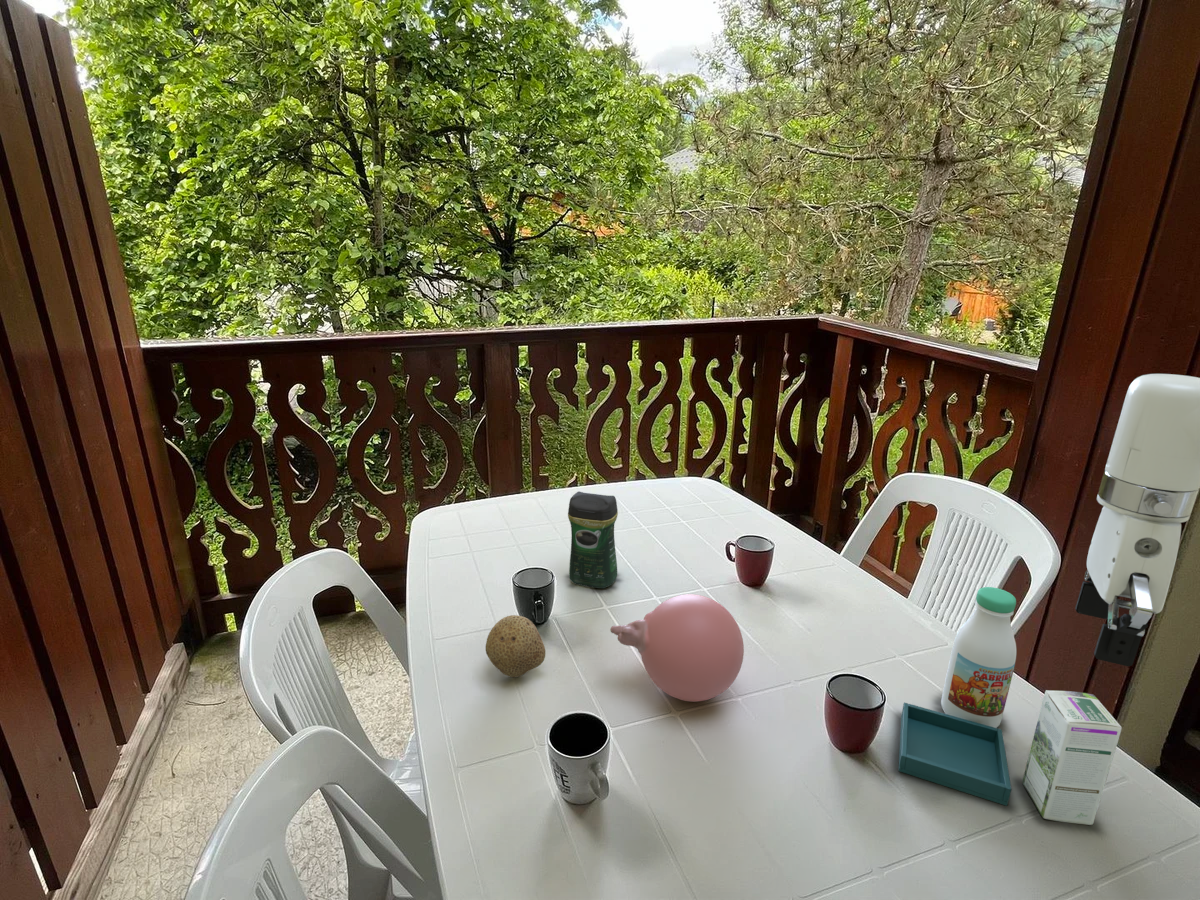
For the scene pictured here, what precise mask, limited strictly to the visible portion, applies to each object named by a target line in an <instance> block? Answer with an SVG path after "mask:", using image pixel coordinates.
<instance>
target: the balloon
mask: <svg viewBox="0 0 1200 900" xmlns="http://www.w3.org/2000/svg"><path fill="white" fill-rule="evenodd" d="M610 633H611V634H614V635H615V636H617V641H618V642H619V643H620V644H621V645H623V646H627V647H628V646H629V647H633V648H635V649H636V650H637V651H638V653H639V655H640V658H641V661H642V664H643V667H644V669H645V672H646V673H647V675H648V676H649V678H650V679H651V681H652V682H653V683H654V684H655V686H657V688H658V689H660V690H661V691H662V692H664V693H665V694H667V695H668V696H670V697H672V698H674V699H678V700H680V701H685V702H694V703H695V702H704V701H708V700H711V699H713V698H716V697H718V696H719V695H722V694H723V693H724V692H725V691H727V690H728V689H729V688H730V687H731V686H732V684H733V683H734V682H735V680H736V679H737V677H738V675H739V674H740V671H741V668H742V666H743V662H744V654H745V653H744V652H745V648H744V646H745V645H744V640H743V633H742V631H741V629H740V626H739V624H738V622H737V621H736V619H735V617H734V616H733V614H732V613H730V611H729V610H728V609H727V608H726V607H724V606H723V605H722V604H721V603H719V602H718V601H717V600H714V599H713V598H710V597H708V596H705V595H701V594H693V593H685V594H679V595H675V596H672V597H670V598H668V599H666V600H664V601H662V602H661V603H660V604H658V605H657V606H656V607H655V608H654V609H653V610H651V611H650V612H647V613H646V614H645V616H644V617H643V619H637V620H634V621H632V622H629V623H628V624H622V625H612V626H611V627H610Z"/></svg>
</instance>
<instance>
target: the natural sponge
mask: <svg viewBox="0 0 1200 900" xmlns="http://www.w3.org/2000/svg"><path fill="white" fill-rule="evenodd" d="M485 653H486V656H487V658H488V659H489V661H490V662H491V663H492V664H493V666H494V667H495V668H496V669H497V670H498V671H499V672H500V673H502V674H503V675H505V676H506V677H510V678H519V677H522V676H523V675H525V674H526V673H527V672H530V671H531V670H534V669H537V668H538V667H539V666H541V665H542V664H543V662H544V661H545V659H546V647H545V644H544V641H543V639H542V637H541V635H540V633H539V631H538V629H537V626H536V625H535V624H534V622H533V621H532V620H530V619H529V618H527V617H525V616H522V615H515V614H513V615H512V614H510V615H507V616H504V617H502V618H501V619H500V620H499V621H497V622H496V623H495V624H494V625H493V627H492V628H491V629H490V630H489V633H488V635H487V637H486V642H485Z"/></svg>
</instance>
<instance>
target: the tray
mask: <svg viewBox="0 0 1200 900" xmlns="http://www.w3.org/2000/svg"><path fill="white" fill-rule="evenodd" d="M1005 747H1006V746H1005V741H1004V734H1003V730H1002V729H1001V728H998V727H997V728H994V727H991V726H987V725H983V724H980V723H976V722H973V721H969V720H965V719H962V718H958V717H955V716H951V715H948V714H946V713H945V712H940V711H937V710H932V709H929V708H926V707H922V706H918V705H916V704H913V703H912V704H911V703H908V702H903V706H902V711H901V716H900V733H899V752H898V753H899V754H898V772H899V773H903V774H906V775H908V776H913V777H914V778H915V777H916V778H918V779H922V780H925V781H929V782H931V783H934V784H938V785H940V786H943V787H947V788H950V789H952V790H956V791H959V792H962V793H966V794H968V795H972V796H975V797H977V798H981V799H984V800H987V801H990V802H993V803H996V804H999V805H1003V806H1006V807H1007V806H1008V804H1009V800H1010V797H1011V792H1012V785H1011V779H1010V773H1009V772H1010V771H1009V768H1008V767H1009V766H1008V761H1007V753H1006V748H1005Z"/></svg>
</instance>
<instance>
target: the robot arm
mask: <svg viewBox="0 0 1200 900" xmlns="http://www.w3.org/2000/svg"><path fill="white" fill-rule="evenodd" d="M1108 453H1109V454H1108V457H1107V460H1106V464H1105V468H1104V470H1103V473H1102V474H1103V475H1102V478H1101V482H1100V485H1099V488H1098V492H1097V496H1096V501H1097V503H1098V504H1099V505H1101V506H1102V508H1101V512H1100V514H1099V517H1098V520H1097V522H1096V525H1095V529H1094V532H1093V535H1092V538H1091V541H1090V545H1089V548H1088V552H1087V553H1088V554H1087V558H1086V568H1087V570H1086V571H1085V573H1084V580H1083V581H1082V584H1081V587H1080V590H1079V593H1078V598H1077V601H1076V604H1075V611H1076V613H1077V614H1079V615H1085V616H1088V617H1089V616H1090V617H1093V618H1098V619H1103V620H1107V623H1102V625H1101V628H1100V633H1099V636H1098V637H1097V638H1098V639H1097V642H1096V645H1095V649H1094V652H1093V654H1094V657H1095V659H1097V660H1100V661H1103V662H1107V663H1112V664H1116V665H1120V666H1124V667H1132V666H1133V664H1134V661H1135V659H1136V656H1137V653H1138V650H1139V646H1140V644H1141V641H1142V638H1143V637H1144V635H1145V633H1146V629H1147V628H1149V621H1150V619H1151V618H1152V617H1153V614H1156V615H1157V614H1159V613H1161V612H1162V611H1163V609H1164V605H1165V603H1166V599H1167V596H1168V593H1169V590H1170V585H1171V582H1172V578H1173V574H1174V570H1175V566H1176V561H1177V557H1178V554H1179V553H1178V552H1179V548H1180V541H1181V534H1182V523H1185V522H1188V521H1189V520H1190V517H1191V514H1192V511H1193V508H1194V506H1195V502H1196V499H1197V496H1198V494H1199V491H1200V377H1197V376H1191V375H1183V374H1174V373H1173V374H1171V373H1147V374H1142V375H1140V376H1137V377H1136V378H1134V379H1133V381H1132V382H1131V383H1130V384H1129V386H1128V389H1127V391H1126V394H1125V398H1124V401H1123V404H1122V408H1121V411H1120V416H1119V419H1118V423H1117V426H1116V429H1115V431H1114V435H1113V439H1112V443H1111V447H1110V450H1109V452H1108ZM1118 597H1120V598H1121V597H1122V598H1127V599H1130V600H1125V599H1119V598H1118ZM1119 609H1123V610H1128V613H1124V614H1122V615H1120V616H1119V611H1120V610H1119Z"/></svg>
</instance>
